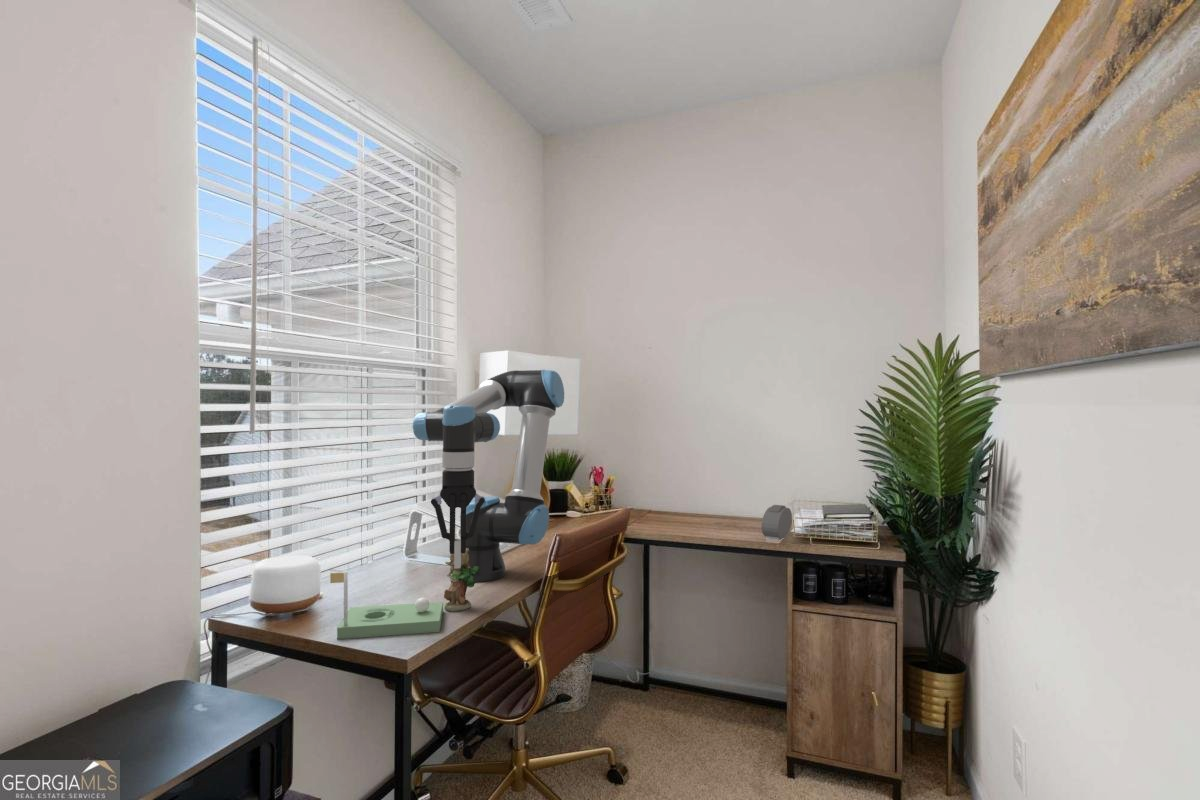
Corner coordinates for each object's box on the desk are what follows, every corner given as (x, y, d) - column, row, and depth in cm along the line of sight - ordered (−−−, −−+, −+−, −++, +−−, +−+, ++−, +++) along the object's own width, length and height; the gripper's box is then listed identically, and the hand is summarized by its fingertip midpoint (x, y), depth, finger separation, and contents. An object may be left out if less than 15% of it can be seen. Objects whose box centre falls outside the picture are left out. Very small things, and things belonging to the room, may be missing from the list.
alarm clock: (776, 532, 239) (776, 500, 239) (791, 533, 236) (792, 501, 236) (761, 544, 219) (761, 509, 219) (778, 546, 216) (778, 511, 216)
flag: (347, 624, 134) (348, 571, 134) (347, 625, 134) (347, 572, 134) (330, 625, 134) (331, 572, 134) (330, 626, 133) (330, 573, 133)
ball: (429, 609, 144) (429, 595, 144) (428, 614, 141) (428, 599, 141) (415, 610, 143) (415, 596, 143) (413, 615, 140) (413, 600, 140)
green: (443, 611, 149) (443, 601, 149) (439, 631, 137) (439, 620, 137) (350, 617, 145) (350, 607, 145) (337, 639, 132) (337, 627, 132)
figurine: (437, 609, 151) (437, 550, 151) (457, 600, 158) (457, 543, 158) (464, 615, 147) (464, 554, 147) (484, 606, 153) (484, 548, 153)
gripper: (485, 467, 148) (485, 561, 148) (431, 467, 146) (430, 564, 146) (486, 470, 141) (485, 569, 141) (429, 471, 139) (428, 572, 138)
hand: (457, 566), depth 143 cm, fingers closed
